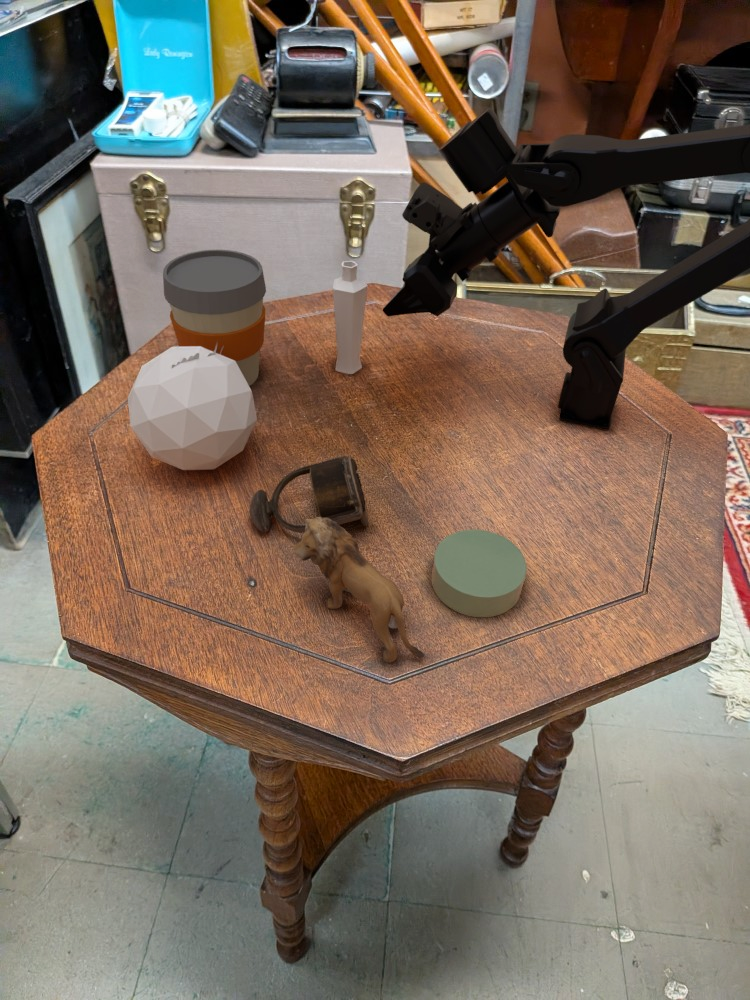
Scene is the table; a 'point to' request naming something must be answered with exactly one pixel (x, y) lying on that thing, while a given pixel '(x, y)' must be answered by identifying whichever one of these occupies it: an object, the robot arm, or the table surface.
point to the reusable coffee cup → (218, 304)
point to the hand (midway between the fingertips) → (395, 296)
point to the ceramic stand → (478, 573)
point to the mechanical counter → (318, 495)
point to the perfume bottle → (349, 317)
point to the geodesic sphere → (192, 408)
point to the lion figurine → (355, 579)
